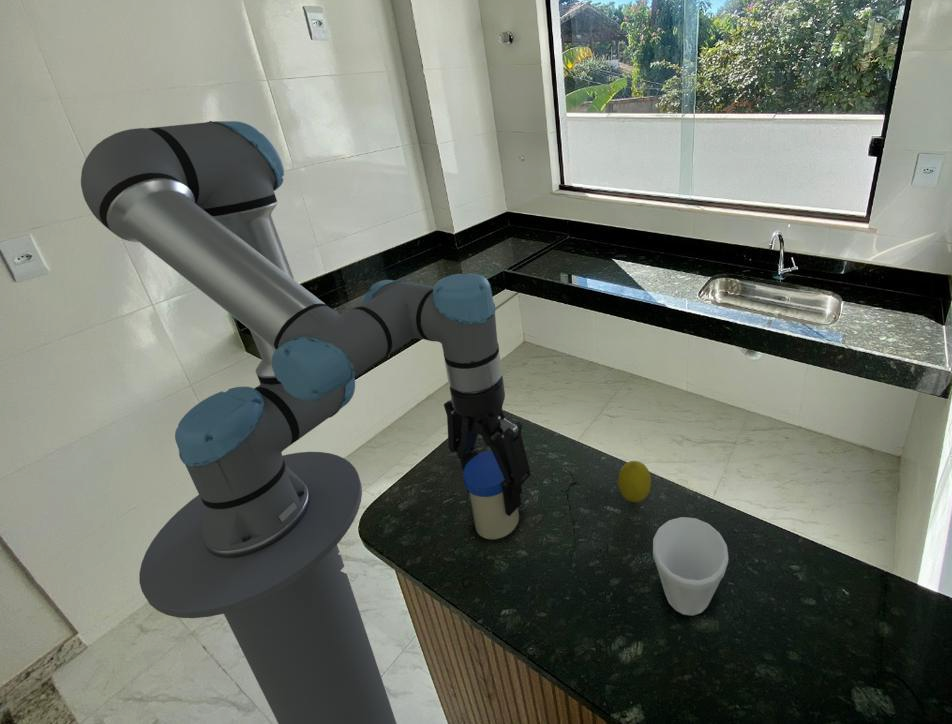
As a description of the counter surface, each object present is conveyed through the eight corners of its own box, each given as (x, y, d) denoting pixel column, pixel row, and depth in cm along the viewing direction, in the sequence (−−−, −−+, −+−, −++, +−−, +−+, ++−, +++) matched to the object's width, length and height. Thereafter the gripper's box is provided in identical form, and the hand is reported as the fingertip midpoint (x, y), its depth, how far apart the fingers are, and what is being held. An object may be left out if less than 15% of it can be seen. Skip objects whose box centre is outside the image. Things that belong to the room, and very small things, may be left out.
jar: (465, 531, 78) (456, 481, 74) (491, 497, 84) (483, 450, 80) (504, 545, 76) (496, 494, 72) (527, 509, 82) (521, 461, 78)
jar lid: (525, 470, 78) (524, 461, 77) (490, 505, 71) (489, 495, 71) (489, 452, 82) (488, 443, 81) (453, 483, 75) (452, 474, 75)
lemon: (612, 501, 83) (611, 465, 80) (631, 481, 87) (631, 446, 84) (638, 518, 80) (638, 481, 77) (657, 497, 84) (658, 461, 80)
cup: (637, 598, 68) (637, 552, 64) (676, 548, 74) (678, 504, 71) (700, 649, 61) (704, 601, 58) (736, 589, 68) (742, 543, 65)
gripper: (549, 387, 67) (558, 508, 76) (447, 349, 78) (465, 459, 86) (512, 418, 61) (528, 545, 70) (407, 372, 72) (432, 488, 80)
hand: (493, 497), depth 78 cm, fingers closed on jar lid, 8 cm apart
